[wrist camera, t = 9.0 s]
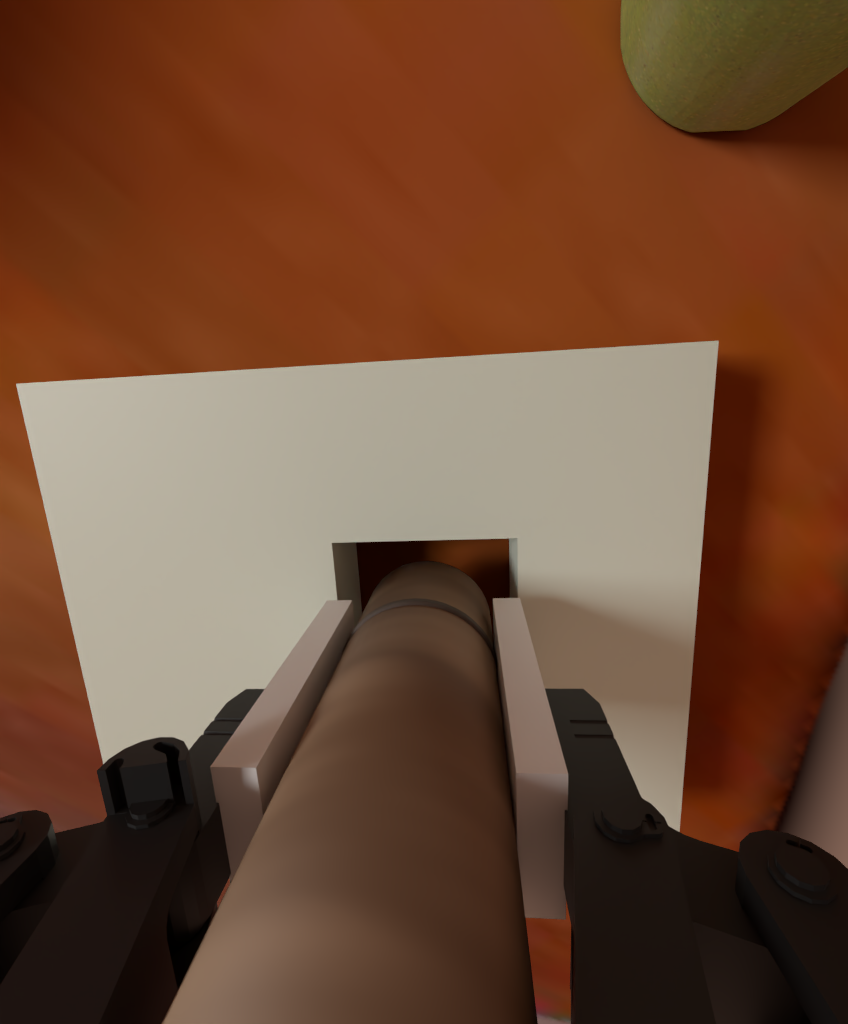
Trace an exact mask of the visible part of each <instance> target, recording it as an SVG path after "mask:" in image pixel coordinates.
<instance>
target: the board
mask: <svg viewBox="0 0 848 1024" xmlns="http://www.w3.org/2000/svg"><path fill="white" fill-rule="evenodd" d="M718 342H719V341H706V342H689V343H673V344H657V345H640V346H624V347H608V348H592V349H575V350H559V351H543V352H527V353H510V354H494V355H478V356H462V357H445V358H429V359H413V360H396V361H380V362H364V363H348V364H331V365H315V366H299V367H283V368H266V369H250V370H234V371H218V372H201V373H185V374H169V375H152V376H136V377H120V378H104V379H87V380H71V381H55V382H39V383H22V384H16V386H17V390H18V394H19V399H20V403H21V407H22V412H23V416H24V420H25V425H26V429H27V434H28V438H29V442H30V447H31V451H32V455H33V460H34V464H35V468H36V473H37V477H38V481H39V486H40V490H41V494H42V499H43V503H44V507H45V512H46V516H47V521H48V525H49V529H50V534H51V538H52V542H53V547H54V551H55V555H56V560H57V564H58V568H59V573H60V577H61V581H62V586H63V590H64V594H65V599H66V603H67V608H68V612H69V616H70V621H71V625H72V629H73V634H74V638H75V642H76V647H77V651H78V655H79V660H80V664H81V668H82V673H83V677H84V681H85V686H86V690H87V695H88V699H89V703H90V708H91V712H92V716H93V721H94V725H95V729H96V734H97V738H98V742H99V747H100V751H101V755H102V760H103V764H104V763H105V762H106V761H107V760H108V759H110V758H111V757H113V756H114V755H116V754H117V753H119V752H120V751H122V750H123V749H125V748H127V747H130V746H132V745H134V744H137V743H139V742H141V741H145V740H149V739H154V738H158V737H174V738H177V739H179V740H182V741H184V742H185V744H186V746H187V748H188V750H189V749H190V748H191V747H192V746H193V744H194V743H195V742H196V741H197V739H198V738H199V737H200V736H201V735H203V734H204V731H205V729H206V728H207V727H208V726H209V724H210V723H211V722H212V721H214V718H215V717H216V715H217V714H218V713H219V712H220V710H221V709H222V708H223V707H224V705H225V704H226V703H227V702H228V701H230V700H231V699H232V698H234V697H235V696H237V695H238V694H240V693H241V692H242V691H244V690H245V689H265V688H266V687H267V685H268V684H269V682H270V681H271V679H272V678H273V677H274V675H275V674H276V672H277V671H278V669H279V668H280V667H281V665H282V664H283V662H284V661H285V659H286V658H287V657H288V655H289V654H290V652H291V651H292V649H293V648H294V647H295V645H296V644H297V642H298V641H299V640H300V638H301V637H302V635H303V634H304V632H305V631H306V630H307V628H308V627H309V625H310V624H311V622H312V621H313V620H314V618H315V617H316V615H317V614H318V612H319V611H320V610H321V608H322V607H323V605H324V604H325V602H326V601H328V600H352V603H353V614H354V625H355V627H356V625H357V624H358V622H359V619H360V617H361V615H362V606H361V594H360V582H359V570H358V559H357V547H356V542H386V541H426V540H465V539H505V538H509V576H510V598H520V600H521V604H522V608H523V611H524V615H525V618H526V622H527V626H528V629H529V633H530V637H531V640H532V644H533V648H534V651H535V655H536V658H537V662H538V666H539V669H540V673H541V677H542V680H543V684H544V688H545V689H584V690H585V691H587V692H588V693H589V694H590V695H591V696H592V697H593V698H594V699H595V700H597V701H598V702H599V703H600V705H601V707H602V710H603V712H604V714H605V716H606V719H607V723H608V724H609V725H610V728H611V730H612V732H613V734H614V739H616V741H617V743H618V746H619V748H620V750H621V752H622V755H623V757H624V759H625V761H626V764H627V766H628V768H629V770H630V773H631V775H632V777H633V779H634V782H635V784H636V786H637V788H638V791H639V793H640V795H641V797H642V798H643V799H644V800H646V801H648V802H649V803H651V804H652V805H653V806H654V807H655V808H656V809H657V810H658V811H659V812H660V813H661V814H662V815H663V816H664V818H665V820H666V822H667V824H668V826H669V827H671V828H673V829H675V830H676V831H678V832H679V831H680V818H681V806H682V793H683V781H684V768H685V756H686V743H687V731H688V718H689V706H690V693H691V681H692V668H693V655H694V643H695V630H696V618H697V605H698V593H699V580H700V568H701V555H702V543H703V530H704V518H705V505H706V492H707V480H708V467H709V455H710V442H711V430H712V417H713V405H714V392H715V380H716V367H717V354H718Z"/></svg>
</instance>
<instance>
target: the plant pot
mask: <svg viewBox="0 0 848 1024" xmlns="http://www.w3.org/2000/svg"><path fill="white" fill-rule="evenodd" d="M621 52H622V57H623V61H624V65H625V68H626V71H627V74H628V76H629V79H630V81H631V83H632V85H633V86H634V88H635V90H636V92H637V93H638V95H639V96H640V98H641V99H642V100H643V102H644V103H645V104H646V105H647V106H648V107H649V108H650V109H651V110H652V111H653V112H654V113H655V114H656V115H657V116H659V117H660V118H661V119H663V120H664V121H666V122H667V123H669V124H671V125H672V126H674V127H677V128H679V129H682V130H685V131H688V132H693V133H694V132H711V131H735V130H748V129H751V128H754V127H756V126H759V125H761V124H763V123H766V122H768V121H770V120H771V119H773V118H775V117H777V116H778V115H780V114H781V113H783V112H784V111H786V110H787V109H789V108H790V107H791V106H793V105H794V104H795V103H797V102H798V101H800V100H801V99H803V98H804V97H806V96H807V95H809V94H810V93H812V92H813V91H814V90H816V89H817V88H819V87H820V86H822V85H823V84H824V83H826V82H827V81H829V80H830V79H832V78H833V77H835V76H836V75H837V74H839V73H840V72H842V71H843V70H845V69H846V68H848V0H622V3H621Z"/></svg>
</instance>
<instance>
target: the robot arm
mask: <svg viewBox="0 0 848 1024" xmlns="http://www.w3.org/2000/svg"><path fill="white" fill-rule="evenodd" d="M354 628H355V625H354V614H353V603H352V600H328V601H326V602H325V604H324V605H323V607H322V608H321V610H320V611H319V612H318V614H317V615H316V617H315V618H314V620H313V621H312V622H311V624H310V625H309V627H308V628H307V630H306V631H305V632H304V634H303V635H302V637H301V638H300V640H299V641H298V642H297V644H296V645H295V647H294V648H293V649H292V651H291V652H290V654H289V655H288V657H287V658H286V659H285V661H284V662H283V664H282V665H281V667H280V668H279V669H278V671H277V672H276V674H275V675H274V677H273V678H272V679H271V681H270V682H269V684H268V685H267V687H266V688H265V689H245V690H244V691H242V692H241V693H240V694H238V695H237V696H235V697H234V698H232V699H231V700H230V701H228V702H227V703H226V704H225V705H224V707H223V708H222V709H221V710H220V712H219V713H218V714H217V715H216V717H215V718H214V721H212V722H211V723H210V724H209V726H208V727H207V728H206V729H205V731H204V734H203V735H201V736H200V737H199V738H198V739H197V741H196V742H195V743H194V744H193V746H192V747H191V748H190V749H189V750H188V748H187V746H186V744H185V742H184V741H182V740H179V739H177V738H174V737H158V738H154V739H149V740H145V741H141V742H139V743H137V744H134V745H132V746H130V747H127V748H125V749H123V750H122V751H120V752H119V753H117V754H116V755H114V756H113V757H111V758H110V759H108V760H107V761H106V762H105V763H104V764H103V765H102V766H101V767H100V768H99V769H98V770H97V774H98V778H99V782H100V787H101V791H102V795H103V799H104V804H105V808H106V812H107V817H106V818H105V820H104V822H100V823H97V824H93V825H88V826H84V827H80V828H76V829H71V830H67V831H63V832H58V833H54V829H53V825H52V822H51V820H50V817H49V815H48V814H47V813H44V812H41V811H38V810H32V811H23V812H18V813H15V814H12V815H9V816H5V817H3V818H0V1024H161V1023H162V1021H163V1019H164V1017H165V1015H166V1013H167V1011H168V1009H169V1007H170V1005H171V1003H172V1001H173V999H174V997H175V995H176V993H177V991H178V989H179V987H180V985H181V983H182V981H183V979H184V977H185V974H186V972H187V970H188V968H189V966H190V964H191V962H192V960H193V958H194V956H195V954H196V952H197V950H198V948H199V946H200V944H201V942H202V940H203V938H204V936H205V934H206V932H207V930H208V928H209V926H210V923H211V921H212V919H213V917H214V915H215V913H216V911H217V909H218V908H217V901H218V899H219V897H220V895H221V893H222V891H223V889H224V887H225V885H226V883H227V881H228V879H229V878H230V883H231V881H232V879H233V877H234V875H235V872H236V870H237V868H238V866H239V864H240V862H241V860H242V858H243V856H244V854H245V852H246V850H247V848H248V846H249V844H250V842H251V840H252V838H253V836H254V834H255V832H256V830H257V828H258V826H259V824H260V821H261V819H262V817H263V815H264V813H265V811H266V809H267V807H268V805H269V803H270V801H271V799H272V797H273V795H274V793H275V791H276V789H277V787H278V785H279V783H280V781H281V779H282V777H283V775H284V773H285V770H286V768H287V766H288V764H289V762H290V760H291V758H292V756H293V754H294V752H295V750H296V748H297V746H298V744H299V742H300V740H301V738H302V736H303V734H304V732H305V730H306V728H307V726H308V724H309V721H310V719H311V717H312V715H313V713H314V711H315V709H316V707H317V705H318V703H319V701H320V699H321V697H322V695H323V693H324V691H325V689H326V687H327V685H328V683H329V681H330V679H331V677H332V675H333V673H334V670H335V668H336V666H337V664H338V662H339V660H340V658H341V655H342V651H343V648H344V646H345V644H346V642H347V640H348V638H349V636H350V634H351V632H352V631H353V629H354ZM493 636H494V651H495V653H496V658H497V674H498V687H499V695H500V704H501V713H502V721H503V730H504V738H505V747H506V756H507V764H508V773H509V782H510V790H511V799H512V808H513V816H514V825H515V833H516V842H517V851H518V859H519V868H520V877H521V885H522V894H523V903H524V911H525V917H528V918H548V919H566V900H567V905H568V910H569V915H570V920H571V971H570V989H571V1024H848V869H847V868H846V867H845V866H844V865H843V864H842V863H841V862H840V861H839V860H838V859H836V858H835V857H834V856H832V855H831V854H829V853H828V852H826V851H824V850H823V849H821V848H820V847H818V846H816V845H815V844H813V843H812V842H809V841H806V840H804V839H801V838H799V837H796V836H794V835H791V834H789V833H783V832H777V831H770V830H764V831H758V832H753V833H750V834H748V835H747V836H746V837H745V838H744V839H743V840H742V841H741V842H740V848H739V852H736V851H733V850H730V849H726V848H723V847H719V846H716V845H713V844H709V843H706V842H702V841H699V840H697V839H694V838H691V837H689V836H686V835H684V834H682V833H680V832H678V831H676V830H675V829H673V828H671V827H669V826H668V824H667V822H666V820H665V818H664V816H663V815H662V814H661V813H660V812H659V811H658V810H657V809H656V808H655V807H654V806H653V805H652V804H651V803H649V802H648V801H646V800H644V799H643V798H642V797H641V795H640V793H639V791H638V788H637V786H636V784H635V782H634V779H633V777H632V775H631V773H630V770H629V768H628V766H627V764H626V761H625V759H624V757H623V755H622V752H621V750H620V748H619V746H618V743H617V741H616V739H614V734H613V732H612V730H611V728H610V725H609V724H608V723H607V719H606V716H605V714H604V712H603V710H602V707H601V705H600V703H599V702H598V701H597V700H595V699H594V698H593V697H592V696H591V695H590V694H589V693H588V692H587V691H585V690H584V689H545V688H544V684H543V680H542V677H541V673H540V669H539V666H538V662H537V658H536V655H535V651H534V648H533V644H532V640H531V637H530V633H529V629H528V626H527V622H526V618H525V615H524V611H523V608H522V604H521V600H520V598H493Z"/></svg>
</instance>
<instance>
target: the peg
mask: <svg viewBox="0 0 848 1024" xmlns="http://www.w3.org/2000/svg"><path fill="white" fill-rule="evenodd" d="M161 1024H538V1023H537V1015H536V1006H535V997H534V989H533V980H532V972H531V963H530V954H529V946H528V937H527V928H526V920H525V911H524V903H523V894H522V885H521V877H520V868H519V859H518V851H517V842H516V833H515V825H514V816H513V808H512V799H511V790H510V782H509V773H508V764H507V756H506V747H505V738H504V730H503V721H502V713H501V704H500V695H499V687H498V674H497V658H496V653H495V651H494V644H493V635H492V626H491V618H490V610H489V606H488V603H487V600H486V598H485V596H484V594H483V592H482V590H481V589H480V588H479V586H478V585H477V584H476V583H475V582H474V581H473V580H472V579H471V578H470V577H469V576H468V575H466V574H465V573H464V572H462V571H460V570H459V569H457V568H455V567H453V566H450V565H447V564H444V563H440V562H434V561H420V562H414V563H409V564H406V565H403V566H401V567H399V568H397V569H395V570H393V571H392V572H390V573H389V574H387V575H386V576H385V577H384V578H383V579H382V580H381V581H380V582H379V584H378V585H377V586H376V588H375V589H374V591H373V593H372V595H371V597H370V599H369V601H368V603H367V605H366V607H365V609H364V611H363V613H362V615H361V617H360V619H359V622H358V624H357V625H356V627H355V628H354V629H353V631H352V632H351V634H350V636H349V638H348V640H347V642H346V644H345V646H344V648H343V651H342V655H341V658H340V660H339V662H338V664H337V666H336V668H335V670H334V673H333V675H332V677H331V679H330V681H329V683H328V685H327V687H326V689H325V691H324V693H323V695H322V697H321V699H320V701H319V703H318V705H317V707H316V709H315V711H314V713H313V715H312V717H311V719H310V721H309V724H308V726H307V728H306V730H305V732H304V734H303V736H302V738H301V740H300V742H299V744H298V746H297V748H296V750H295V752H294V754H293V756H292V758H291V760H290V762H289V764H288V766H287V768H286V770H285V773H284V775H283V777H282V779H281V781H280V783H279V785H278V787H277V789H276V791H275V793H274V795H273V797H272V799H271V801H270V803H269V805H268V807H267V809H266V811H265V813H264V815H263V817H262V819H261V821H260V824H259V826H258V828H257V830H256V832H255V834H254V836H253V838H252V840H251V842H250V844H249V846H248V848H247V850H246V852H245V854H244V856H243V858H242V860H241V862H240V864H239V866H238V868H237V870H236V872H235V875H234V877H233V879H232V881H231V883H230V885H229V887H228V889H227V891H226V893H225V895H224V897H223V899H222V901H221V903H220V905H219V907H218V909H217V911H216V913H215V915H214V917H213V919H212V921H211V923H210V926H209V928H208V930H207V932H206V934H205V936H204V938H203V940H202V942H201V944H200V946H199V948H198V950H197V952H196V954H195V956H194V958H193V960H192V962H191V964H190V966H189V968H188V970H187V972H186V974H185V977H184V979H183V981H182V983H181V985H180V987H179V989H178V991H177V993H176V995H175V997H174V999H173V1001H172V1003H171V1005H170V1007H169V1009H168V1011H167V1013H166V1015H165V1017H164V1019H163V1021H162V1023H161Z"/></svg>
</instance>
